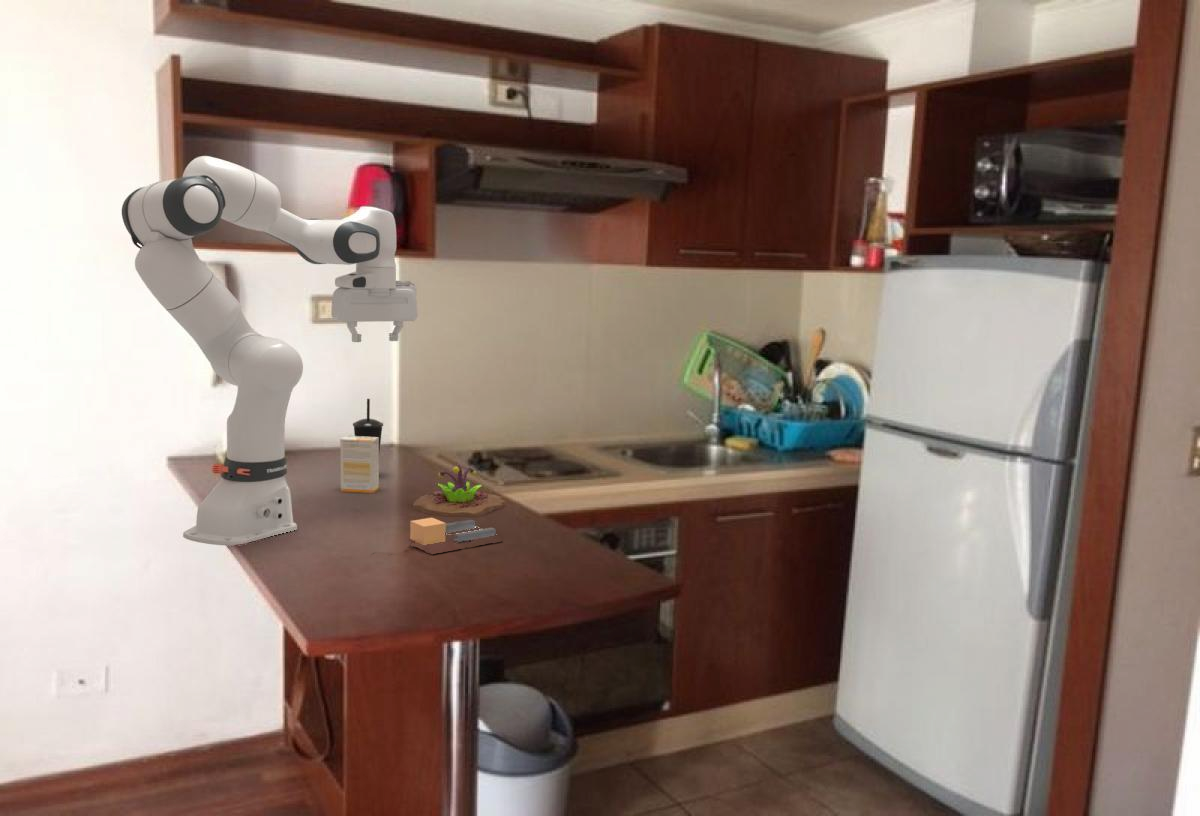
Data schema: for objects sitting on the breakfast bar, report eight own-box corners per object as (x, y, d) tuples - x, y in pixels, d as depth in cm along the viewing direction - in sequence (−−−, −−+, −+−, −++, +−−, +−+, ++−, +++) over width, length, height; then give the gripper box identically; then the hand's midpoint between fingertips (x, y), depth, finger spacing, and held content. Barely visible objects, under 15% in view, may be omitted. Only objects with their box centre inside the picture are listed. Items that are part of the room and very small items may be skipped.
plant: (399, 517, 221) (399, 467, 220) (434, 497, 240) (435, 451, 238) (484, 526, 217) (485, 475, 215) (513, 506, 235) (515, 459, 234)
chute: (471, 529, 212) (472, 517, 212) (502, 541, 204) (502, 529, 204) (402, 541, 201) (402, 529, 201) (431, 555, 193) (432, 542, 193)
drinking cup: (388, 475, 259) (390, 399, 256) (367, 480, 253) (368, 402, 250) (367, 471, 263) (368, 395, 260) (345, 475, 257) (346, 398, 254)
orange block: (431, 536, 202) (432, 517, 202) (445, 542, 198) (445, 523, 198) (410, 540, 199) (410, 521, 198) (423, 546, 195) (423, 526, 195)
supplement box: (379, 489, 244) (380, 436, 242) (373, 494, 239) (373, 440, 237) (346, 487, 245) (346, 434, 243) (339, 491, 240) (339, 438, 238)
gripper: (409, 280, 234) (408, 339, 237) (328, 278, 221) (327, 341, 223) (423, 281, 230) (422, 341, 232) (341, 280, 216) (341, 343, 218)
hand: (375, 341), depth 227 cm, fingers open, 8 cm apart
